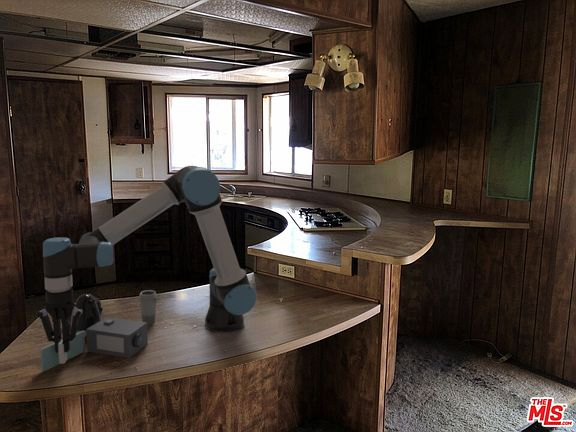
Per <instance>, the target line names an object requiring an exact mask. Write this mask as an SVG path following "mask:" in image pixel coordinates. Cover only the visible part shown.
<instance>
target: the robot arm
mask: <svg viewBox="0 0 576 432" xmlns="http://www.w3.org/2000/svg"><path fill="white" fill-rule="evenodd" d="M220 192H221V184H220V181H219V179H218V176H217V175H216V174H215V173H214V172H212V171H211V170H210V169H209V168H206V167H204V166H202V167H201V166H197V165H187V166H184V167H182V168H180V169H179V170H178V171H176V172H175V173H173V174H172V175H171V176H169V177H168V178H166V179H165V180H163V181H162V182H161V186H160V187H158V188H156V189H155V190H154V191H152V192H151V193H149V194H147V195H146V196H144V197H143V198H142V199H140V200H139V201H137V202H135V203H134V204H132V205H131V206H129V207H128V208H126V209H125V210H123V211H122V212H120V213H118V215H116V216H114V217H113V218H111V219H109V220H107V221H106V222H105V223H103V224H102V225H101V226H99V227H98V228H96V229H94V230H93V231H90V232H87V233H85V234H83V235H81V237H80V239H79V241H78V243H72V241H71V239H70V238H68V237H65V236H64V237H59V236H58V237H52V238H51V237H50V238H48V239H45V240H44V241H43V242H42V260H43V262H42V263H43V274H44V289H45V302H46V303H45V306H44V308H43V309H41V310H39V311H38V312H37V316H38V317H39V319H40V320H41V324H42V326H43V328H44V329H43V330H44V333H45V335H46V338H47V341H49V342H52V343H55V351H56V353H59V364H65V363H66V362H67V361H68V360H67V352H68V351H69V350H70V343H69V341H72V340H73V339H74V338H75V337H76V333H77V328H78V323H79V319H80V315H81V314H82V312H83V309H78V308H76V307H75V303H74V288H73V269H75V270H77V269H85V268H88V269H89V268H99V267H100V268H103V267H107V266H111V265H113V263H114V248H113V246H115V244H117V243H118V242H120V241H121V240H123V239H124V238H125V237H127V236H129V235H130V234H131V233H133V232H134V231H136V230H137V229H139V228H140V227H143V225H145V224H147V223H148V222H150V221H151V220H153V219H154V218H156V217H157V216H158V215H160V214H161V213H163V212H164V211H166V210H167V209H169V208H170V207H172V206H173V205H177V206H179V205H180V204H181V203H183V202H185V205H186V207H187V210H188V212H189V213H190V214H192V215H194V216H195V219H196V222H197V224H198V227H199V230H200V232H201V236H202V238H203V241H204V244H205V247H206V250H207V252H208V255H209V258H210V261H211V264H212V267H213V268H211V269H210V270H209V277H208V278H209V306H208V309H207V312H206V315H205V318H204V326H205V328H206V329H208V330H210V331H213V332H217V333H218V332H219V333H227V332H235V331H238V330H240V329H241V328H243V327H244V325H245V318H244V315H245V314H247V313H249V312H250V311H251V310H252V309H253V308H254V307H255V305H256V303H257V299H258V297H257V296H258V295H257V292H256V290H255V288H254V286H252V285H251V284H250V281H249V277H248V275H247V271H246V270H245V269H243V268H241V267H240V264H239V262H238V261H239V260H238V258H237V255H236V252H235V250H234V246H233V244H232V241H231V237H230V235H229V232H228V229H227V225H226V223H225V220H224V217H223V214H222V211H221V208H220V207H221V204H222V203H223V199H222V197H221V193H220ZM72 311H73V312H74V313H73V315H74V318H73V322H72V326H71V325H70V322H69V315H70V314H71V313H72ZM49 316H50V317H51V320H50V317H49ZM51 322H52V323H51ZM62 339H63V340H62ZM59 364H58V365H59Z"/></svg>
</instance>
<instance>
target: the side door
mask: <svg viewBox="0 0 576 432" xmlns="http://www.w3.org/2000/svg"><path fill="white" fill-rule="evenodd" d="M61 340H63V338H62V339H61ZM69 343H70V350H69V351H68V352H67V361H68V360H69V359H72V358H74V357H76V356H79V355H80V354H82V353H84V352H86V337H85V331H81V332H79V333H76V337H75V338H74V339H73V340H72V341H69ZM39 352H40V354H39V355H40V367H41V371H42V372H44V371H46V370H48V369H51V368H53V367H55V366H57V365H59V353H56V351H55V343H54V342H52V343H50V344H49V345H46V346H44V347H42V348H40V349H39Z"/></svg>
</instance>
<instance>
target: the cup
mask: <svg viewBox="0 0 576 432" xmlns="http://www.w3.org/2000/svg"><path fill="white" fill-rule="evenodd" d="M138 297H139V298H140V300H139V301H140V312H141V314H140V315H141V320H142V321H141V322H146V323H147V325H152V324H155V322H156V321H155V320H156V313H157V312H156V311H157V297H158V293H156V291H155V290H152V289H151V290H150V289H149V290H143V291H141V292H140V293H139V296H138Z"/></svg>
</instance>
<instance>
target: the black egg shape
mask: <svg viewBox="0 0 576 432" xmlns="http://www.w3.org/2000/svg"><path fill="white" fill-rule="evenodd" d="M89 294H90V293H84V294H81V295H79V296H78V298H77V299H76V300H75V303H74V304H75V307H76V308H78V309H83V312H82V314H81V315H80V319H79V323H78V328H77V333H79V332H81V331H85V338H87V332H86V329H87V328H89V327H91V326H92V325H94V324H96V323H98V322H99V321H101V320H102V315H101V316H100V312H99V309H98V306H97V304H96V302H95V299H94V298H93V297H92V296H91V295H92V294H90V295H89ZM73 313H74V312H72V317H71V324H70V327H71V326H72V322H73V318H74V315H73Z"/></svg>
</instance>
